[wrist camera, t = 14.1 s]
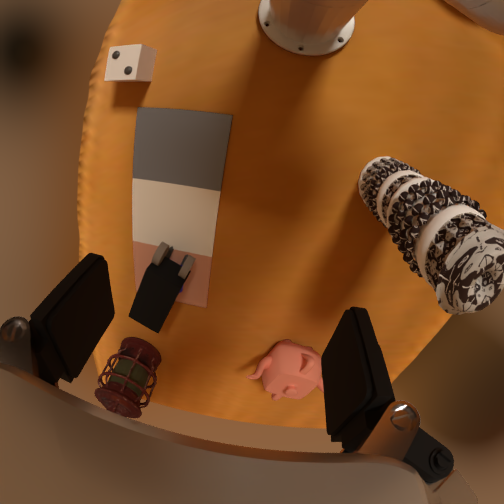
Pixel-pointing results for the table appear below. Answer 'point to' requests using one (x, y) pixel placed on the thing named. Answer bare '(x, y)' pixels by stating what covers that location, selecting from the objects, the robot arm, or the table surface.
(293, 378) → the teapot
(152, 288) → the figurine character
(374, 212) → the decorative candle
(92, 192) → the table surface
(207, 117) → the game board
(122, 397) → the lantern
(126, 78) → the die
